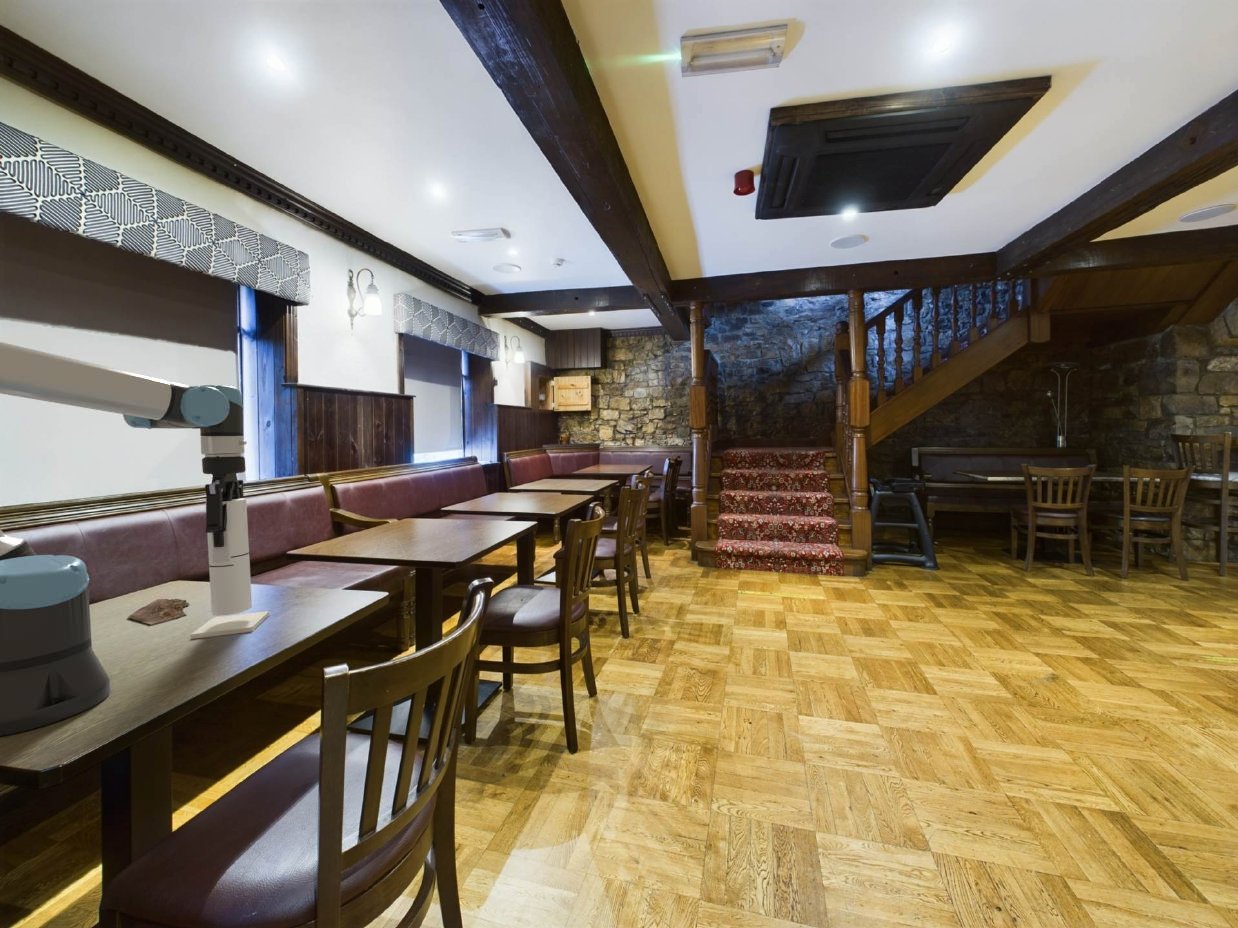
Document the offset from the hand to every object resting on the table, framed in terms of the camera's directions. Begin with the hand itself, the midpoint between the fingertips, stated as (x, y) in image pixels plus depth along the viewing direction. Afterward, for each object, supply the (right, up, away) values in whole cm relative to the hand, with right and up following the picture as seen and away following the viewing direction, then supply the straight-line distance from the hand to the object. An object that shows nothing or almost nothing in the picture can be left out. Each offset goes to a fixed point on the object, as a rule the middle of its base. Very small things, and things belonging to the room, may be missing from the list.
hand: (229, 557), depth 111 cm
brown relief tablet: (-27, -16, +12) cm, 34 cm away
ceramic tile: (0, -16, +1) cm, 16 cm away
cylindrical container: (0, -12, +1) cm, 12 cm away
